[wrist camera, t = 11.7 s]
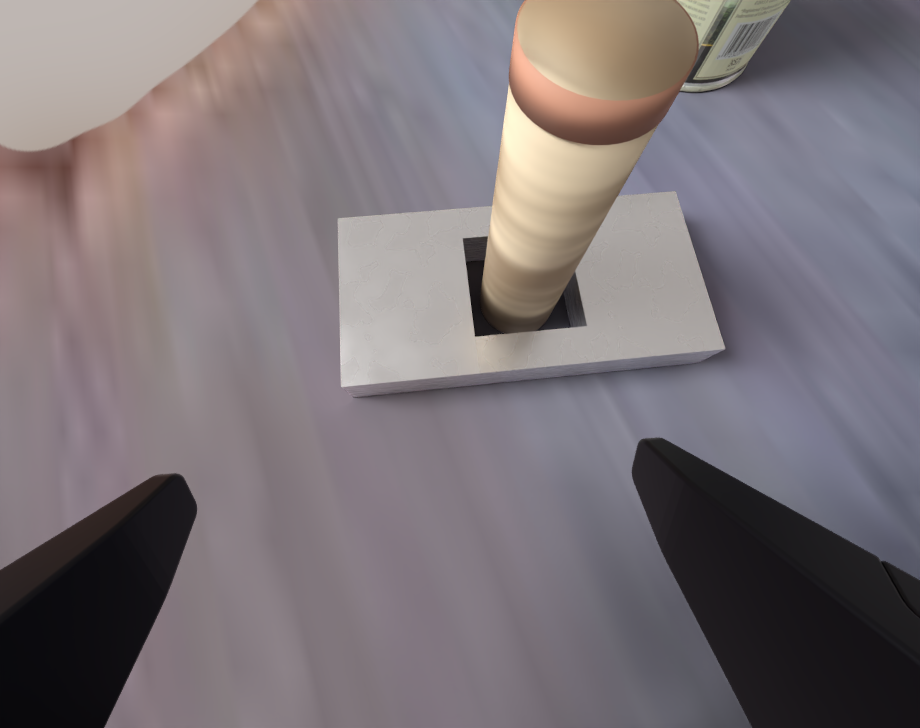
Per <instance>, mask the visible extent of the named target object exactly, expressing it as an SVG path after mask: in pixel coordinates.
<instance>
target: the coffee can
mask: <svg viewBox="0 0 920 728" xmlns="http://www.w3.org/2000/svg"><path fill="white" fill-rule="evenodd" d="M676 1H678V2H679V3H680V4H681V5H682V7H683V8H684V9H685V10H686V11H687V13H688V14H689V16H690V17H691V19H692V21H693V23H694V25H695V27H696V30H697V34H698V40H699V51H698V56H697V60H696V62H695V64H694V66H693V68H692V70H691V72H690V74H689V75H688V77H687V79H686V81H685V82H684V84H683V86H682V88H681V89H680V91H685V92H703V91H708V90H714V89H717V88H720V87H723V86H725V85H727V84H729V83H731V82H732V81H733V80H735V79H736V78H737V77H738V76H739V75H740V74H742V72H743V71H744V69H745V68H746V66H747V64H748V62H749V60H750V59H751V57H752V56H753V55H754V53H755V52H756V50H757V49H758V47H759V46H760V45H761V43H762V42H763V40H764V39H765V37H766V36H767V34H768V33H769V31H770V30H771V29H772V27H773V26H774V24H775V23H776V21H777V20H778V18H779V17H780V15H781V14H782V13H783V11H784V10H785V8H786V7H787V5H788V4H789V2H790V1H791V0H676Z"/></svg>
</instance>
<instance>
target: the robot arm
mask: <svg viewBox="0 0 920 728" xmlns="http://www.w3.org/2000/svg"><path fill="white" fill-rule="evenodd" d="M632 477H633V481H634V484H635V486H636V489H637V491H638V494H639V496H640V499H641V502H642V504H643V507H644V509H645V512H646V514H647V517H648V519H649V522H650V524H651V527H652V529H653V532H654V534H655V537H656V540H657V542H658V544H659V547H660V549H661V551H662V553H663V555H664V557H665V559H666V562H667V564H668V566H669V567H670V569H671V571H672V573H673V575H674V577H675V579H676V581H677V583H678V585H679V587H680V589H681V591H682V593H683V594H684V596H685V598H686V600H687V602H688V604H689V606H690V608H691V610H692V612H693V614H694V616H695V618H696V620H697V622H698V623H699V625H700V627H701V629H702V631H703V633H704V635H705V637H706V639H707V641H708V643H709V645H710V647H711V649H712V650H713V652H714V654H715V656H716V658H717V660H718V662H719V664H720V666H721V668H722V670H723V672H724V674H725V676H726V677H727V679H728V681H729V683H730V685H731V687H732V689H733V691H734V693H735V695H736V697H737V699H738V701H739V703H740V705H741V706H742V708H743V710H744V712H745V714H746V716H747V718H748V720H749V722H750V724H751V726H752V728H920V580H919V579H917V578H915V577H913V576H911V575H910V574H908V573H906V572H904V571H902V570H901V569H899V568H897V567H895V566H893V565H892V564H890V563H888V562H886V561H880V559H879V558H878V557H877V556H875V555H873V554H871V553H870V552H868V551H866V550H864V549H862V548H861V547H859V546H857V545H855V544H853V543H852V542H850V541H848V540H846V539H844V538H842V537H841V536H839V535H837V534H835V533H833V532H832V531H830V530H828V529H826V528H824V527H823V526H821V525H819V524H817V523H815V522H814V521H812V520H810V519H808V518H806V517H804V516H803V515H801V514H799V513H797V512H795V511H794V510H792V509H790V508H788V507H786V506H785V505H783V504H781V503H779V502H777V501H776V500H774V499H772V498H770V497H768V496H766V495H765V494H763V493H761V492H759V491H757V490H756V489H754V488H752V487H750V486H748V485H747V484H745V483H743V482H741V481H739V480H738V479H736V478H734V477H732V476H730V475H728V474H727V473H725V472H723V471H721V470H719V469H718V468H716V467H714V466H712V465H710V464H709V463H707V462H705V461H703V460H701V459H700V458H698V457H696V456H694V455H692V454H690V453H689V452H687V451H685V450H683V449H681V448H680V447H678V446H676V445H674V444H672V443H671V442H669V441H667V440H665V439H663V438H645V439H642V440H640V441H639V443H638V445H637V450H636V454H635V458H634V462H633V467H632ZM196 514H197V504H196V501H195V499H194V497H193V495H192V493H191V491H190V489H189V487H188V485H187V483H186V481H185V479H184V477H183V476H181V475H180V474H177V473H174V474H160V475H155V476H153V477H151V478H149V479H148V480H146V481H144V482H143V483H141V484H140V485H138V486H136V487H135V488H133V489H131V490H130V491H128V492H127V493H125V494H123V495H122V496H120V497H118V498H117V499H115V500H114V501H112V502H110V503H109V504H107V505H105V506H104V507H102V508H101V509H99V510H97V511H96V512H94V513H92V514H91V515H89V516H88V517H86V518H84V519H83V520H81V521H79V522H78V523H76V524H74V525H73V526H71V527H70V528H68V529H66V530H65V531H63V532H61V533H60V534H58V535H57V536H55V537H53V538H52V539H50V540H48V541H47V542H45V543H44V544H42V545H40V546H39V547H37V548H35V549H34V550H32V551H31V552H29V553H27V554H26V555H24V556H22V557H21V558H19V559H17V560H16V561H14V562H13V563H11V564H9V565H8V566H6V567H4V568H3V569H1V570H0V728H104V727H105V725H106V723H107V721H108V719H109V717H110V715H111V713H112V711H113V708H114V706H115V704H116V702H117V700H118V698H119V696H120V694H121V692H122V690H123V687H124V685H125V683H126V681H127V679H128V677H129V675H130V673H131V671H132V668H133V666H134V664H135V662H136V660H137V658H138V656H139V654H140V652H141V650H142V647H143V645H144V643H145V641H146V639H147V637H148V635H149V633H150V631H151V629H152V626H153V624H154V622H155V620H156V618H157V616H158V614H159V612H160V610H161V607H162V605H163V603H164V601H165V598H166V596H167V594H168V591H169V589H170V586H171V584H172V581H173V578H174V575H175V573H176V570H177V567H178V564H179V562H180V559H181V556H182V553H183V551H184V548H185V545H186V542H187V540H188V537H189V534H190V531H191V529H192V526H193V523H194V520H195V518H196Z"/></svg>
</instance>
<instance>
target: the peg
mask: <svg viewBox="0 0 920 728" xmlns="http://www.w3.org/2000/svg"><path fill="white" fill-rule="evenodd" d="M698 51H699V40H698V34H697V30H696V27H695V25H694V23H693V21H692V19H691V17H690V16H689V14H688V13H687V11H686V10H685V9H684V8H683V7H682V5H681V4H680V3H679V2H678V1H676V0H525V1H524V2H523V4H522V5H521V7H520V9H519V12H518V14H517V18H516V23H515V31H514V38H513V46H512V53H511V61H510V68H509V89H508V96H507V104H506V111H505V118H504V126H503V133H502V140H501V147H500V155H499V162H498V169H497V177H496V184H495V191H494V198H493V206H492V213H491V220H490V228H489V235H488V242H487V250H486V257H485V264H484V271H483V279H482V286H481V293H480V307H481V311H482V314H483V316H484V317H485V319H486V320H487V322H488V323H489V324H490V325H491V326H493V327H494V328H495V329H497V330H499V331H501V332H503V333H506V334H510V333H520V332H531V331H536V330H538V329H539V328H540V327H541V326H543V324H544V323H545V322H546V321H547V319H548V318H549V316H550V314H551V312H552V311H553V309H554V307H555V305H556V304H557V302H558V300H559V298H560V296H561V295H562V293H563V291H564V289H565V288H566V286H567V284H568V282H569V281H570V279H571V277H572V275H573V274H574V272H575V270H576V268H577V267H578V265H579V263H580V261H581V260H582V258H583V256H584V254H585V253H586V251H587V249H588V247H589V245H590V244H591V242H592V240H593V238H594V237H595V235H596V233H597V231H598V230H599V228H600V226H601V224H602V223H603V221H604V219H605V217H606V216H607V214H608V212H609V210H610V209H611V207H612V205H613V203H614V201H615V200H616V198H617V196H618V194H619V193H620V191H621V189H622V187H623V186H624V184H625V182H626V180H627V179H628V177H629V175H630V173H631V172H632V170H633V168H634V166H635V165H636V163H637V161H638V159H639V157H640V156H641V154H642V152H643V150H644V149H645V147H646V145H647V143H648V142H649V140H650V138H651V136H652V135H653V133H654V131H655V129H656V128H657V126H658V124H659V123H660V122H661V121H662V119H663V118H664V117H665V115H666V114H667V112H668V110H669V109H670V107H671V105H672V103H673V102H674V100H675V98H676V96H677V95H678V93H679V91H680V89H681V88H682V86H683V84H684V82H685V81H686V79H687V77H688V75H689V74H690V72H691V70H692V68H693V66H694V64H695V62H696V60H697V56H698Z"/></svg>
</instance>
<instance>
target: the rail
mask: <svg viewBox="0 0 920 728" xmlns="http://www.w3.org/2000/svg"><path fill="white" fill-rule="evenodd" d="M491 213H492V206H487V207H474V208H462V209H449V210H437V211H425V212H412V213H400V214H387V215H375V216H362V217H350V218H338V254H339V306H340V357H341V387H342V388H343V389H344V390H345V391H346V392H347V393H349V394H350V395H351V396H352V397H363V396H373V395H383V394H393V393H403V392H413V391H423V390H433V389H443V388H453V387H463V386H473V385H483V384H493V383H503V382H513V381H523V380H533V379H543V378H553V377H563V376H573V375H583V374H593V373H603V372H613V371H623V370H633V369H643V368H653V367H663V366H673V365H683V364H693V363H698V362H700V361H703V360H705V359H707V358H709V357H711V356H713V355H715V354H717V353H719V352H721V351H723V350H725V346H724V343H723V339H722V336H721V333H720V330H719V327H718V324H717V320H716V317H715V314H714V311H713V308H712V305H711V302H710V298H709V295H708V292H707V289H706V286H705V283H704V280H703V276H702V273H701V270H700V267H699V264H698V261H697V257H696V254H695V251H694V248H693V245H692V242H691V239H690V235H689V232H688V229H687V226H686V223H685V220H684V216H683V213H682V210H681V207H680V204H679V201H678V198H677V194H676V191H674V192H661V193H649V194H637V195H624V196H617V198H616V200H615V201H614V203H613V205H612V207H611V209H610V210H609V212H608V214H607V216H606V217H605V219H604V221H603V223H602V224H601V226H600V228H599V230H598V231H597V233H596V235H595V237H594V238H593V240H592V242H591V244H590V245H589V247H588V249H587V251H586V253H585V254H584V256H583V258H582V260H581V261H580V263H579V265H578V267H577V268H576V270H575V272H574V274H573V275H572V277H571V279H570V281H569V282H568V284H567V286H566V288H565V289H564V291H563V293H564V298H565V303H566V308H567V313H568V318H569V323H570V328H563V329H552V330H542V331H531V332H520V333H510V334H499V335H489V336H478V337H475V334H474V326H473V318H472V310H471V302H470V293H469V285H468V277H467V269H466V262H467V261H479V260H485V257H486V250H487V242H488V235H489V228H490V220H491Z"/></svg>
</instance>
